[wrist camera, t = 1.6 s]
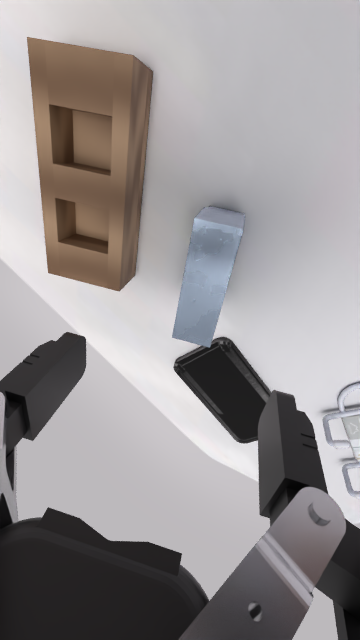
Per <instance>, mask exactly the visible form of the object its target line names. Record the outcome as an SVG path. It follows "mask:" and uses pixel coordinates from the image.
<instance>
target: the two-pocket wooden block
mask: <svg viewBox="0 0 360 640" xmlns="http://www.w3.org/2000/svg"><path fill="white" fill-rule="evenodd" d="M27 43H28V54H29V65H30V76H31V87H32V98H33V109H34V120H35V132H36V143H37V154H38V165H39V176H40V187H41V198H42V210H43V221H44V232H45V243H46V254H47V265H48V273H51V274H54V275H58V276H62V277H66V278H70V279H74V280H78V281H81V282H85V283H89V284H93V285H97V286H101V287H105V288H108V289H112V290H116V291H120V290H121V289H122V288H123V287H124V286H125V285H126V284H127V283H128V282H129V281H130V280H131V279H132V278H133V277H134V276H135V270H136V259H137V247H138V236H139V225H140V213H141V202H142V191H143V180H144V168H145V157H146V146H147V134H148V123H149V112H150V100H151V89H152V78H153V71H152V70H151V69H149V68H148V67H147V66H146V65H144V64H143V63H142V62H141V61H140V60H138V59H137V58H136V57H135V56H133V55H128V54H123V53H117V52H111V51H105V50H99V49H94V48H88V47H82V46H76V45H70V44H65V43H59V42H53V41H47V40H41V39H36V38H30V37H27Z"/></svg>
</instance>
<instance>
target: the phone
mask: <svg viewBox="0 0 360 640" xmlns="http://www.w3.org/2000/svg"><path fill="white" fill-rule="evenodd" d="M174 370H175V372H176V373H177V374H178V375H179V377H180V378H181V379H182V380H183V381H184V382H185V383H186V385H187V386H188V387H189V388H190V389H191V390H192V391H193V393H194V394H195V395H196V396H197V397H198V398H199V399H200V400H201V402H202V403H203V404H204V405H205V406H206V407H207V408H208V410H209V411H210V412H211V413H212V414H213V415H214V416H215V418H216V419H217V420H218V421H219V422H220V423H221V424H222V426H223V427H224V428H225V429H226V430H227V431H228V432H229V433H230V435H231V436H232V437H233V438H234V439H235V440H236V441H237V442H239V443H250V442H253V441H257V440H258V424H259V419H260V416H261V414H262V412H263V410H264V407H265V405H266V403H267V401H268V399H269V397H270V395H271V391H270V390H269V389H268V388H267V386H266V385H265V384H264V382H263V381H262V380H261V378H260V377H259V376H258V375H257V373H256V372H255V371H254V369H253V368H252V367H251V365H250V364H249V363H248V361H247V360H246V359H245V358H244V356H243V355H242V354H241V352H240V351H239V350H238V348H237V347H236V346H235V344H234V343H233V342H232V341H231V340H230V339H228V338H225V337H220V338H217V339H215V340H213V341H212V342H211V346H210V348H209V347H206V346H201V347H199V348H197V349H195V350H193V351H191V352H189V353H187V354H185V355H183V356H181V357H179V358H178V359H177V360H176V361H175V364H174Z"/></svg>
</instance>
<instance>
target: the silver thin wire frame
mask: <svg viewBox="0 0 360 640" xmlns="http://www.w3.org/2000/svg"><path fill="white" fill-rule="evenodd" d="M356 389H360V383H357V384H353V385H351V386H349V387H347V388H346V389H344V390H343V391H342V392H341V394H340V395H339V398H338V406H339V410H340V412H339V413H333V414H328V415H326V416H324V418H323V426H324V431H325V436H326V440H327V443H328V444H329V445H331V446H333V447H335V448H349V447H350V445H351V448H352V451H353V454H354V457H355V459H356V460H357V461H358V463H349V464H345V465H344V466H343V467H342V472H343V476H344V480H345V483H346V488H347V491H348V493H349V494H350V495H351V496H353V497H355V498H356V499H360V491H353V489H352V486H351V483H350V479H349V476H348V472H347V470H348V469H351V468H360V409H355V410H350V411H345V408H344V399H345V397H346V396H347V395H348V394H349V393H350V392H352V391H354V390H356ZM336 418H342V421H343V424H344V427H345V430H346V433H347V436H348V439H349V442H350V443H349V442H348V441H347V440H332V437H331V433H330V429H329V424H328V421H329V420H331V419H336Z"/></svg>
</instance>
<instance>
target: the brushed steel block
mask: <svg viewBox="0 0 360 640" xmlns="http://www.w3.org/2000/svg"><path fill="white" fill-rule="evenodd" d="M244 222H245V216H244V213H240V212H235V211H231V210H226V209H222V208H217V207H213V206H209V207H208V208H205V207H204V208H203V209H202V210H201V211H200V213H199V214H198V215H197V216H196V217H195V218H194V224H193V229H192V234H191V240H190V245H189V250H188V256H187V261H186V266H185V271H184V277H183V282H182V287H181V293H180V298H179V303H178V308H177V314H176V319H175V324H174V330H173V335H172V338H176V339H180V340H183V341H187V342H191V343H194V344H198V345H202V346H206V347H209V348H210V346H211V342H212V339H213V335H214V332H215V328H216V325H217V321H218V317H219V314H220V310H221V307H222V303H223V300H224V296H225V293H226V289H227V286H228V282H229V279H230V275H231V272H232V268H233V265H234V261H235V258H236V254H237V251H238V247H239V244H240V240H241V237H242V233H243V230H244Z"/></svg>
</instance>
